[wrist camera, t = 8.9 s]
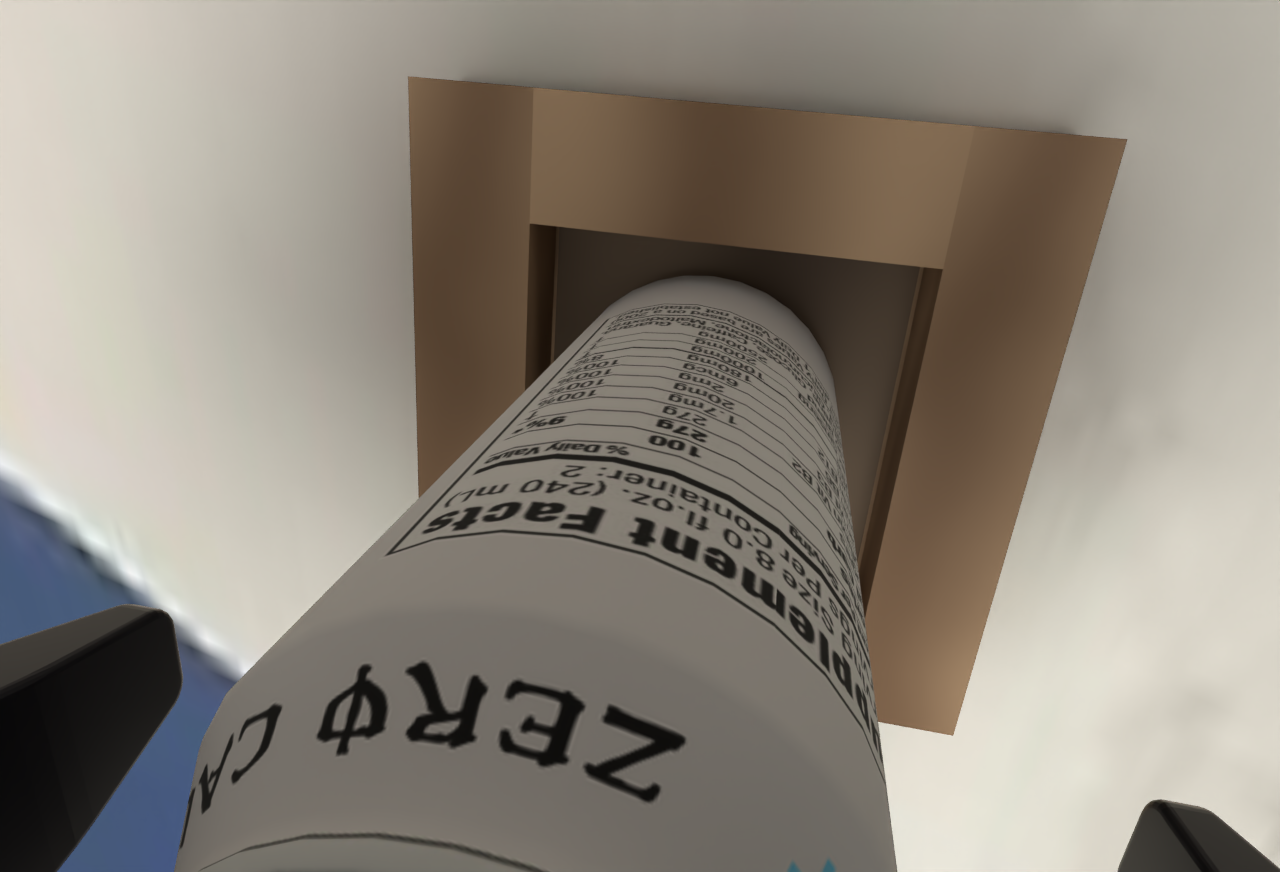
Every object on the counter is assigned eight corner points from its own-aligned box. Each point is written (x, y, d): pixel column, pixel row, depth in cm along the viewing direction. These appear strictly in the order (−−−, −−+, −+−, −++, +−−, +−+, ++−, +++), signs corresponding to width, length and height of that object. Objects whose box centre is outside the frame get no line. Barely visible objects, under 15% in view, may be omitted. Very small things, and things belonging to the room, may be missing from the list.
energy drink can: (528, 406, 20) (-89, 1071, 6) (684, 208, 17) (254, 566, 4) (716, 558, 20) (545, 1478, 7) (892, 387, 18) (1195, 1269, 4)
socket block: (1078, 135, 16) (1127, 139, 14) (935, 665, 21) (953, 735, 19) (460, 81, 18) (408, 75, 16) (461, 582, 23) (422, 636, 21)
